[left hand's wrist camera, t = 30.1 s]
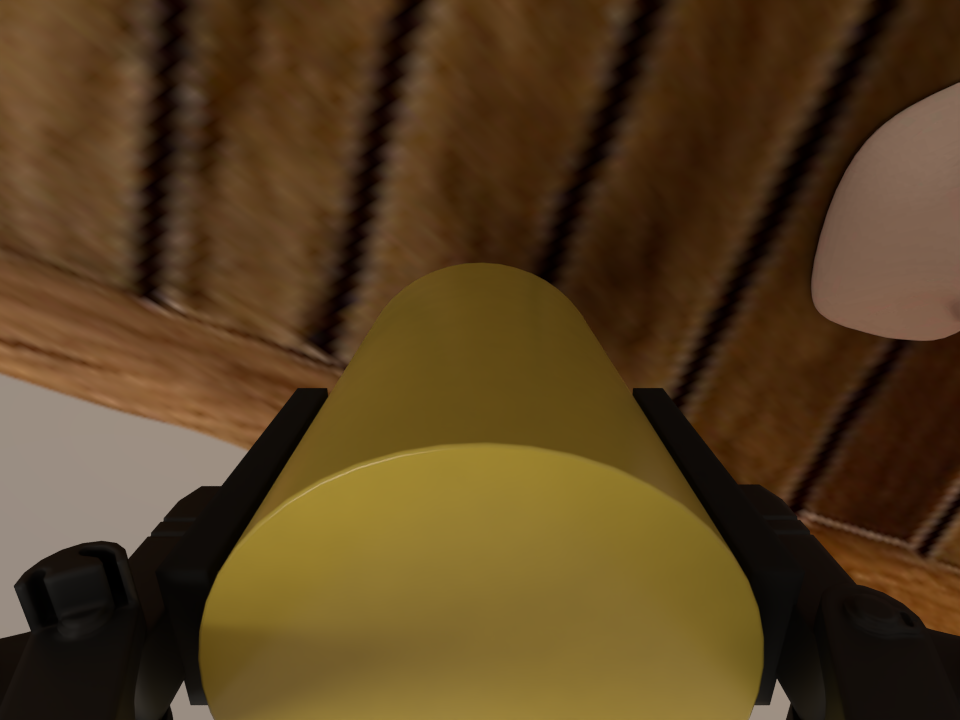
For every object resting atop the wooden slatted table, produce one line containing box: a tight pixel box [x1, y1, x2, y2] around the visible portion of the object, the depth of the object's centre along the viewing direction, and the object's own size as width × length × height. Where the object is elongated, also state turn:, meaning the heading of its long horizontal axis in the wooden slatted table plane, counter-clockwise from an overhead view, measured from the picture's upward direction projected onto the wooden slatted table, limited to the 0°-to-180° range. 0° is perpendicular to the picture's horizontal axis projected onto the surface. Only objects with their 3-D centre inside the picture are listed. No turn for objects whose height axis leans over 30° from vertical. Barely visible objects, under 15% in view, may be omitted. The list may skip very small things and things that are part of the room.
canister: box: [198, 263, 764, 720], centre depth 13 cm, size 8×8×11 cm
